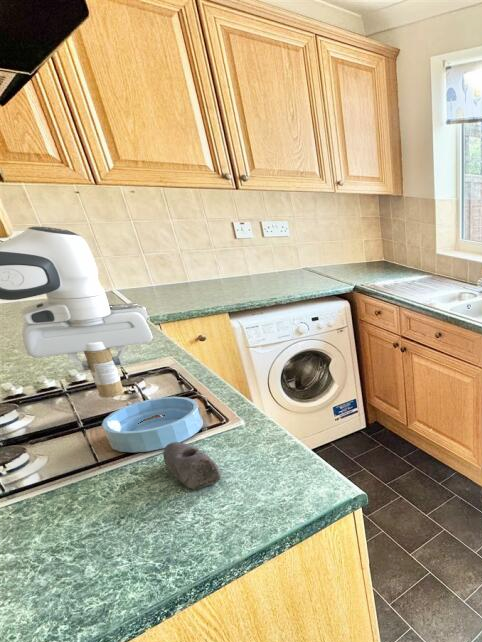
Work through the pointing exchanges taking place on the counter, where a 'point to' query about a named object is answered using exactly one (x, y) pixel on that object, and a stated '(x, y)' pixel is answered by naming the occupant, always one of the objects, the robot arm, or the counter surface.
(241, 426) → the counter surface
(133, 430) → the bowl
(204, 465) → the perforated stone tool
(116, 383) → the sprinkles bottle
